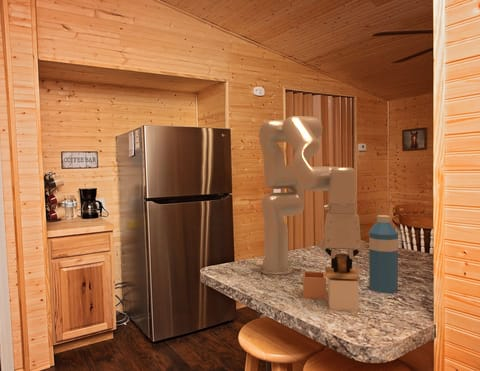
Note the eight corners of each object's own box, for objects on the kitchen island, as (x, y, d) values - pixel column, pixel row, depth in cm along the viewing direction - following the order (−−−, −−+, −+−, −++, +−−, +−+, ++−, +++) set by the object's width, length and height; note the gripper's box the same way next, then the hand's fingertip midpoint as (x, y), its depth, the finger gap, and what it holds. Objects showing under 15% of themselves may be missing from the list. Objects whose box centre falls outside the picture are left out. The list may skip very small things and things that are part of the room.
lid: (327, 278, 105) (327, 258, 105) (325, 269, 114) (325, 250, 114) (359, 279, 104) (359, 259, 103) (355, 270, 113) (355, 251, 112)
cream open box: (329, 311, 106) (329, 280, 105) (327, 301, 114) (327, 272, 113) (358, 312, 104) (358, 281, 104) (354, 302, 112) (354, 273, 112)
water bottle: (374, 283, 130) (374, 213, 129) (401, 289, 124) (402, 215, 123) (364, 290, 123) (364, 216, 121) (393, 296, 117) (393, 218, 116)
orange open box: (303, 299, 115) (303, 277, 115) (303, 292, 122) (303, 271, 122) (326, 300, 114) (325, 278, 114) (324, 293, 121) (324, 272, 121)
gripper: (313, 210, 106) (313, 273, 107) (373, 211, 103) (372, 275, 104) (313, 207, 113) (313, 266, 114) (368, 208, 110) (368, 268, 111)
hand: (341, 270), depth 109 cm, fingers closed on lid, 3 cm apart
